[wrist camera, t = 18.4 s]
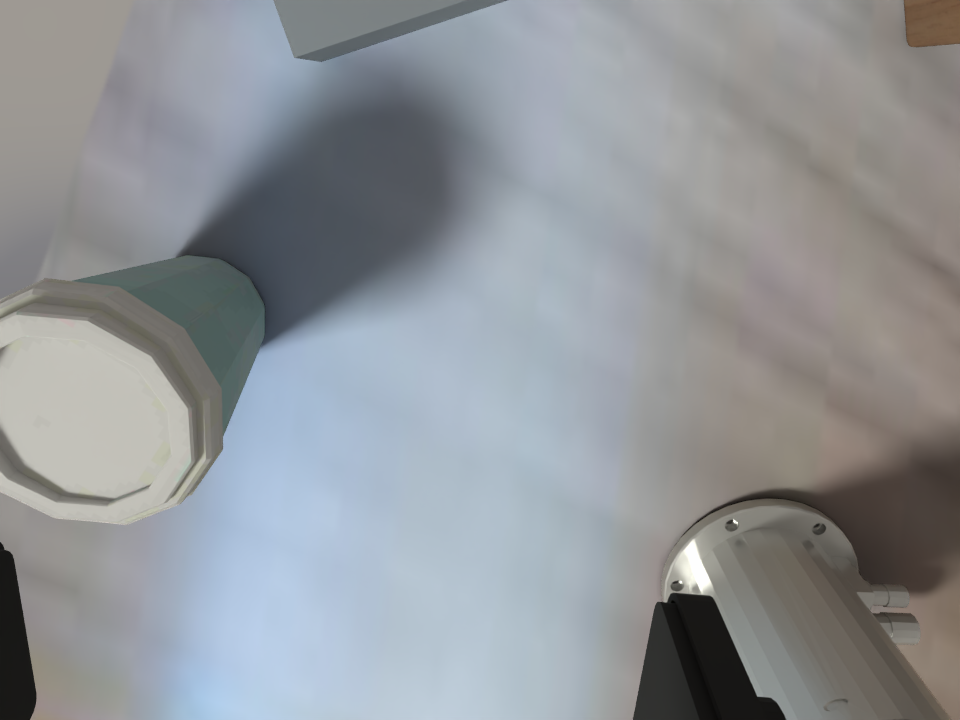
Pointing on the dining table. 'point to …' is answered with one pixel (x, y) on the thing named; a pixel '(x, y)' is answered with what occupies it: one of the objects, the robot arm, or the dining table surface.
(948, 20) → the wooden block
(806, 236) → the dining table surface
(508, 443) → the dining table surface
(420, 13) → the slate box
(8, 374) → the disposable coffee cup
